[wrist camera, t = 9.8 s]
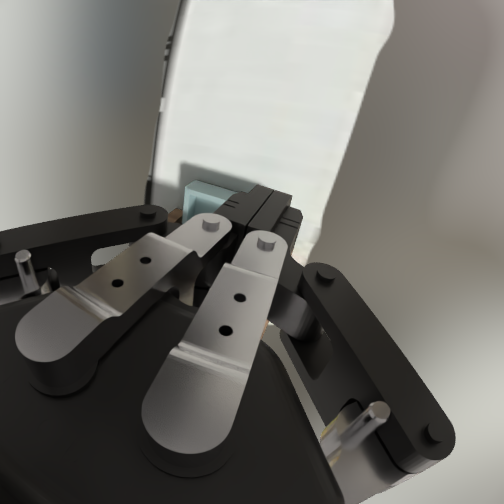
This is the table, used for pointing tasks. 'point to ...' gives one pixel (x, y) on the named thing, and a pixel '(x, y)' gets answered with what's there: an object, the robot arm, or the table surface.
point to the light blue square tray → (203, 199)
